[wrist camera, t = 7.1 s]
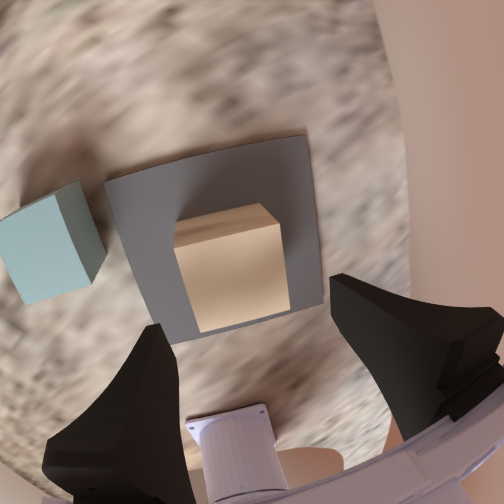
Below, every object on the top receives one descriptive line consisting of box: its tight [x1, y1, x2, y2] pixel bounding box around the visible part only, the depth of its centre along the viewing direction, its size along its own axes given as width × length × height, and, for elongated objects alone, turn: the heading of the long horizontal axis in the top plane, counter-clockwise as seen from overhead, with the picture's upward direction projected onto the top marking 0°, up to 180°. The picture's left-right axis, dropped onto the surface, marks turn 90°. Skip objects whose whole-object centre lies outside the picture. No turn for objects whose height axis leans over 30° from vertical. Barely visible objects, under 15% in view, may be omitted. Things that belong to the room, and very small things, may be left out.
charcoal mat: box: [103, 135, 323, 345], centre depth 18 cm, size 12×12×1 cm
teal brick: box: [0, 180, 107, 305], centre depth 14 cm, size 5×5×4 cm
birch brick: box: [174, 203, 290, 333], centre depth 16 cm, size 5×5×4 cm
